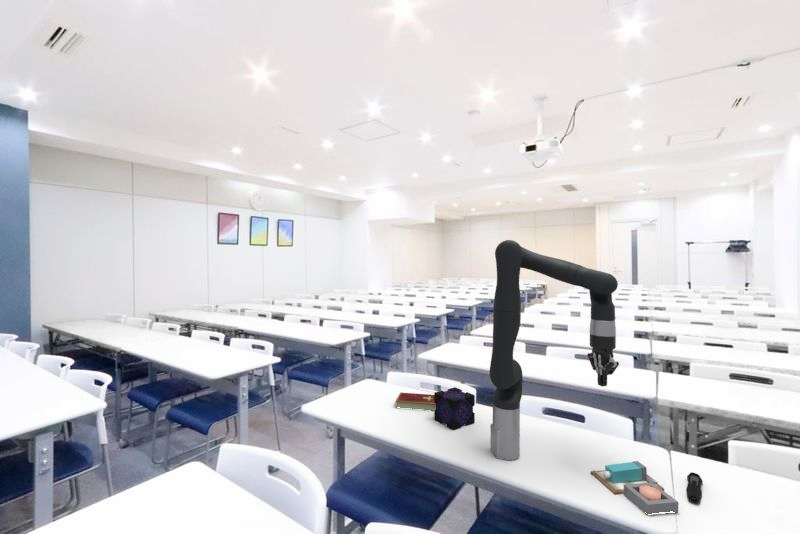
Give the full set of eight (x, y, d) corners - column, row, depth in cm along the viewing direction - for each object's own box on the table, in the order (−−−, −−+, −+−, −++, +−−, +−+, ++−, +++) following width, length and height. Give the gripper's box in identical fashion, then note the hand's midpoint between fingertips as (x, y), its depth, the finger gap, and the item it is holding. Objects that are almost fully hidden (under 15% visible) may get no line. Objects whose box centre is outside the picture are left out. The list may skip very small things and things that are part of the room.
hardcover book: (400, 400, 184) (400, 391, 183) (443, 403, 180) (443, 394, 179) (395, 409, 172) (395, 400, 172) (440, 412, 168) (440, 403, 168)
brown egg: (648, 507, 101) (649, 497, 101) (635, 496, 106) (635, 486, 106) (665, 506, 102) (665, 495, 102) (650, 495, 107) (651, 484, 107)
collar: (648, 515, 99) (648, 504, 99) (623, 494, 108) (623, 484, 108) (678, 512, 100) (678, 501, 100) (651, 492, 109) (651, 482, 109)
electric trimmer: (684, 503, 105) (684, 492, 105) (687, 478, 117) (687, 468, 117) (701, 509, 102) (701, 497, 102) (702, 482, 114) (702, 472, 114)
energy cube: (474, 423, 156) (474, 395, 156) (453, 430, 149) (453, 401, 149) (454, 413, 166) (455, 387, 166) (434, 420, 159) (434, 392, 159)
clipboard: (614, 494, 108) (614, 490, 108) (590, 473, 119) (590, 469, 119) (664, 490, 110) (664, 485, 110) (636, 469, 121) (636, 465, 121)
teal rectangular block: (637, 472, 117) (637, 460, 117) (646, 479, 113) (646, 467, 113) (601, 477, 115) (600, 465, 115) (609, 484, 112) (608, 472, 112)
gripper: (627, 337, 116) (627, 392, 116) (599, 329, 129) (599, 379, 129) (605, 337, 115) (605, 393, 115) (579, 329, 128) (579, 379, 128)
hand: (602, 385), depth 122 cm, fingers closed
